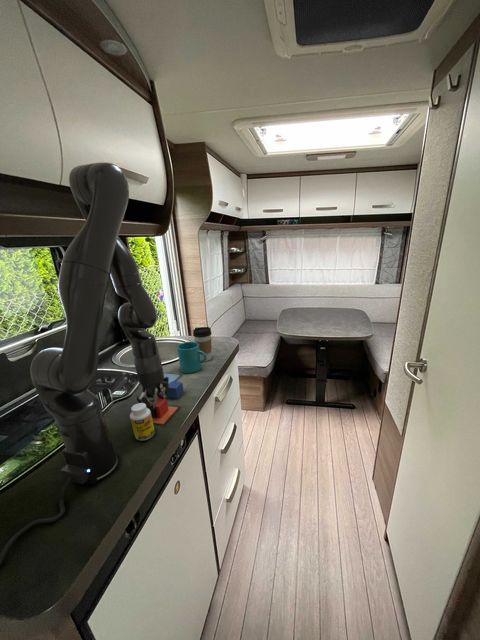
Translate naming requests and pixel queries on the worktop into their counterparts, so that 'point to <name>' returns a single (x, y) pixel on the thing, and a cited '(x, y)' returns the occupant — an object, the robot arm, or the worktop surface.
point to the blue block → (175, 390)
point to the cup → (190, 357)
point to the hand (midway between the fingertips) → (159, 412)
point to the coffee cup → (203, 341)
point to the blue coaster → (171, 377)
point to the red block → (161, 407)
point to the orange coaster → (165, 416)
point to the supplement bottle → (142, 422)
